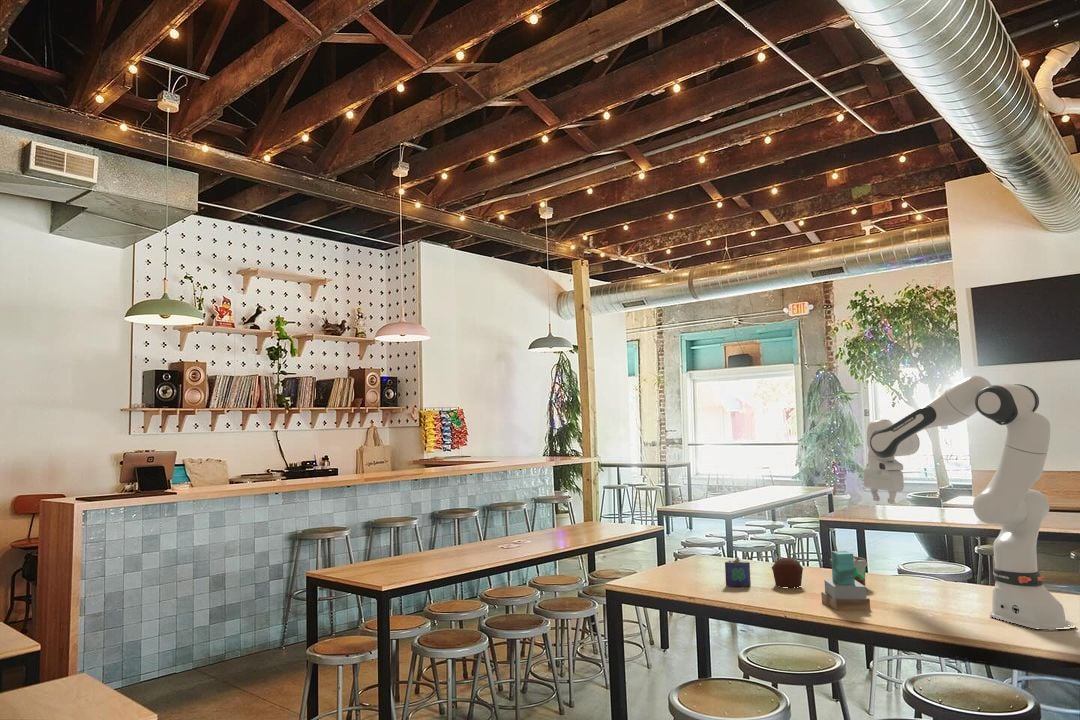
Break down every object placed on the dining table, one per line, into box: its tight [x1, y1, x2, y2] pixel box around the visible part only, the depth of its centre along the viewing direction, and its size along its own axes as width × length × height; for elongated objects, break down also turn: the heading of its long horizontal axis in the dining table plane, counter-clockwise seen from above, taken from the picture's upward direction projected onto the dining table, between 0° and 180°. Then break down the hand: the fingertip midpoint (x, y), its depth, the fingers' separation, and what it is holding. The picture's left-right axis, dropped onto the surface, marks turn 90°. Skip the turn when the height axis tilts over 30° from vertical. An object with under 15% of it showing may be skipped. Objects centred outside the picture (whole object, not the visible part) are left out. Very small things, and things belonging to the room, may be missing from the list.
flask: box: [724, 556, 752, 588], centre depth 267 cm, size 9×3×11 cm, turn 88°
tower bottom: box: [820, 591, 871, 612], centre depth 236 cm, size 11×11×4 cm
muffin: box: [771, 557, 804, 589], centre depth 266 cm, size 12×11×10 cm
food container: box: [853, 555, 868, 587], centre depth 263 cm, size 12×6×10 cm, turn 168°
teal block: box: [830, 550, 855, 585], centre depth 237 cm, size 5×5×10 cm
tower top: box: [823, 579, 867, 599], centre depth 236 cm, size 10×10×4 cm
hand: (883, 502), depth 260 cm, fingers open, 8 cm apart
